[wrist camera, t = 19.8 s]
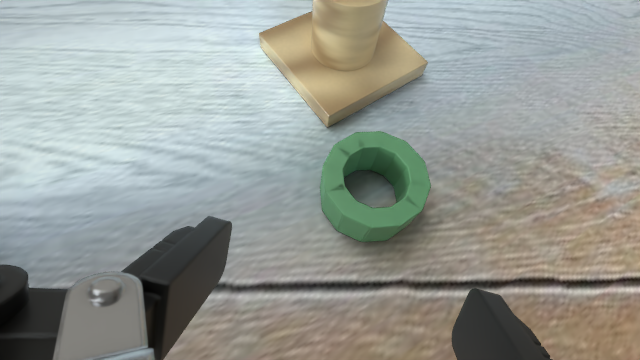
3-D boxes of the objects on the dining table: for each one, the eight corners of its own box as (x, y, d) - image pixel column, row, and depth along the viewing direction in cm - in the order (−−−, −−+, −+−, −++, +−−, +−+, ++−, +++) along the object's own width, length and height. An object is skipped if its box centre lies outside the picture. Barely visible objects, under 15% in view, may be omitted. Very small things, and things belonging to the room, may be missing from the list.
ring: (302, 184, 22) (303, 162, 19) (373, 141, 24) (383, 115, 21) (358, 261, 20) (368, 249, 17) (431, 208, 22) (451, 189, 19)
